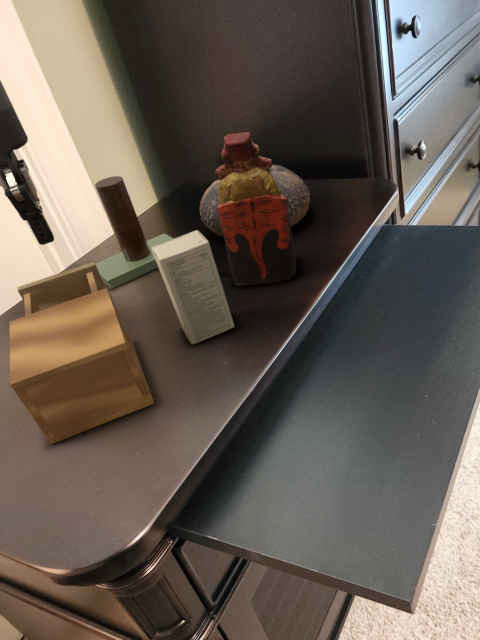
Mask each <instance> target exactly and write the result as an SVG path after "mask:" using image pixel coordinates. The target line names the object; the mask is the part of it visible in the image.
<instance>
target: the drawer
mask: <svg viewBox="0 0 480 640" xmlns="http://www.w3.org/2000/svg"><path fill="white" fill-rule="evenodd" d="M16 288H17V292H18V294H19V296H20V298H21V299H22V301H23V302H24V303H23V304H24V316H27V315H30V314H33V313H36V312H39V311H41V310H44V309H47V308H50V307H53V306H56V305H59V304H62V303H65V302H68V301H70V300H73V299H76V298H79V297H82V296H85V295H88V294H91V293H94V292H97V291H100V290H102V289H105V288H107V285H106V284H105V283H104V282H103V279H102V277H101V275H100V273H99V271H98V269H97V266H96V262H95V261H92V262H89V263H86V264H82V265H80V266H77V267H73V268H70V269H68V270H65V271H61V272H58V273H55V274H53V275H52V274H51V275H49V276H46V277H42V278H40V279H37V280H35V281H31V282H28V283H26V284H23V285H20V286H17V287H16Z"/></svg>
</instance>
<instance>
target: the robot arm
mask: <svg viewBox="0 0 480 640" xmlns="http://www.w3.org/2000/svg"><path fill="white" fill-rule="evenodd" d="M28 141H29V137H28V135H27V132H26V131H25V129H24V127H23V124H22V122H21V121H20V118H19V115H18V114H17V113H16V110H15V108H14V105H13V103H12V101H11V99H10V97H9V95H8V93H7V91H6V89H5V87H4V85H3V83H2V81H1V80H0V187H1V188H2V189H3V192H4V196H5V197H7V199H8V200H9V202H10V204H11V205H12V206H13V207H14V209H15V210H16V213H18V215H19V217H20V219H22V221H24V222H27V224H28V225H29V227H30V230H31V231H32V234H33V235H34V237H35V239H36V241H37V243H38V244H39V245H41V246H44V245H47V244H50V243H53V242H54V241H55V236H54V233H53V231H52V229H51V226H50V224H49V223H48V221H47V219H46V217H45V215H44V211H43V207H42V205H40V204H41V199H40V197H38V190H37V188H36V186H35V184H34V182H33V179H32V177H31V175H30V174H29V171H30V169H29V167H28V165H27V163H26V161H25V160H24V158H21V159H18V157H17V155H16V154H15V151H16V150H17V151H18V150H19V149H21V148H22V147H24V146H26V144H27V143H28Z"/></svg>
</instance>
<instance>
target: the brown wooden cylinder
mask: <svg viewBox="0 0 480 640" xmlns="http://www.w3.org/2000/svg"><path fill="white" fill-rule="evenodd" d="M94 188H95V190H96V192H97V194H98V196H99V200H100V202H101V205H102V206H103V209H104V211H105V214H106V217H107V218H108V221H109V223H110V226H111V228H112V232H113V233H114V236H115V238H116V240H117V243H118V245H119V247H120V251H121V252H123V255H124V257H125V259H126V260H127V261H138V260H141V259H144V258H145V257H147V256H148V255H149V254H150V250H149V247H148V244H147V242H146V241H147V239H146V236H145V233H144V231H143V228H142V225H141V223H140V220H139V218H138V215H137V213H136V210H135V207H134V205H133V202H132V199H131V196H130V195H129V192H128V189H127V186H126V183H125V180H124V178H123V177H122V176H118V175H116V176H109V177H106V178H102V179H100V180H98V181H97V182H95V184H94Z"/></svg>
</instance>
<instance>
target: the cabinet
mask: <svg viewBox="0 0 480 640" xmlns="http://www.w3.org/2000/svg"><path fill="white" fill-rule="evenodd" d="M9 386H10V387H11V389H12V390H13V391H14V393H15V394H16V396H17V398H19V400H20V401H21V403H22V404H23V406H24V407H25V408H26V410H27V412H28V413H29V414H30V416H31V417H32V419H33V420H34V421H35V423H36V425H37V426H38V427H39V429H40V430H41V431H42V434H44V436H45V437H46V439H47V440H48V441H49V443H50V445H53V444H57V443H58V442H61V441H64V440H66V439H68V438H71V437H73V436H77V435H79V434H81V433H84V432H86V431H88V430H91V429H94V428H97V427H99V426H101V425H103V424H106V423H109V422H112V421H113V420H117V419H119V418H121V417H124V416H127V415H129V414H132V413H134V412H137V411H139V410H141V409H144V408H147V407H150V406H151V405H154V404H155V401H154V398H153V396H152V393H151V390H150V387H149V385H148V382H147V379H146V377H145V374H144V370H143V367H142V364H141V362H140V359H139V357H138V354H137V351H136V348H135V346H134V343H133V341H132V339H131V336H130V334H129V332H128V330H127V328H126V326H125V323H124V321H123V319H122V317H121V315H120V313H119V310H118V308H117V305H116V304H115V302H114V300H113V297H112V295H111V293H110V290H109V288H107V287H106V288H105V289H102V290H100V291H97V292H94V293H91V294H88V295H85V296H82V297H79V298H76V299H73V300H70V301H68V302H65V303H62V304H59V305H56V306H53V307H50V308H47V309H44V310H41V311H39V312H36V313H33V314H30V315H27V316H25V315H24V316H22V317H19V318H15V319H12V320H10V321H9Z"/></svg>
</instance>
